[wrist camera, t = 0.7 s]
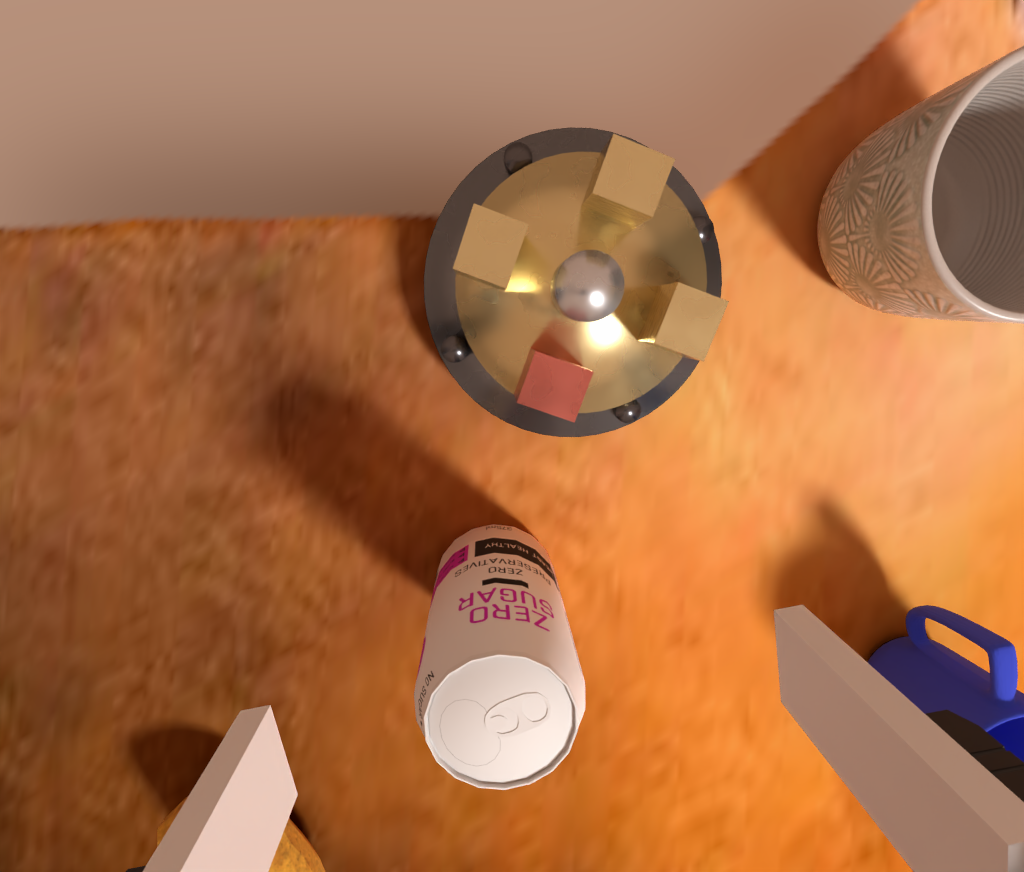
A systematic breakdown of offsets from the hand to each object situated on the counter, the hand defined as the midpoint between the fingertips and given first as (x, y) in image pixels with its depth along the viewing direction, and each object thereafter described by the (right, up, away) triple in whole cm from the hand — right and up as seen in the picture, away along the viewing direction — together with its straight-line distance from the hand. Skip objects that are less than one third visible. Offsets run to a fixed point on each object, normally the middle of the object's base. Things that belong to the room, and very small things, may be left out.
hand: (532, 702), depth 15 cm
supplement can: (-2, -3, +26) cm, 26 cm away
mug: (+29, -9, +29) cm, 42 cm away
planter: (+24, +21, +22) cm, 38 cm away
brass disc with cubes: (+3, +16, +19) cm, 25 cm away
